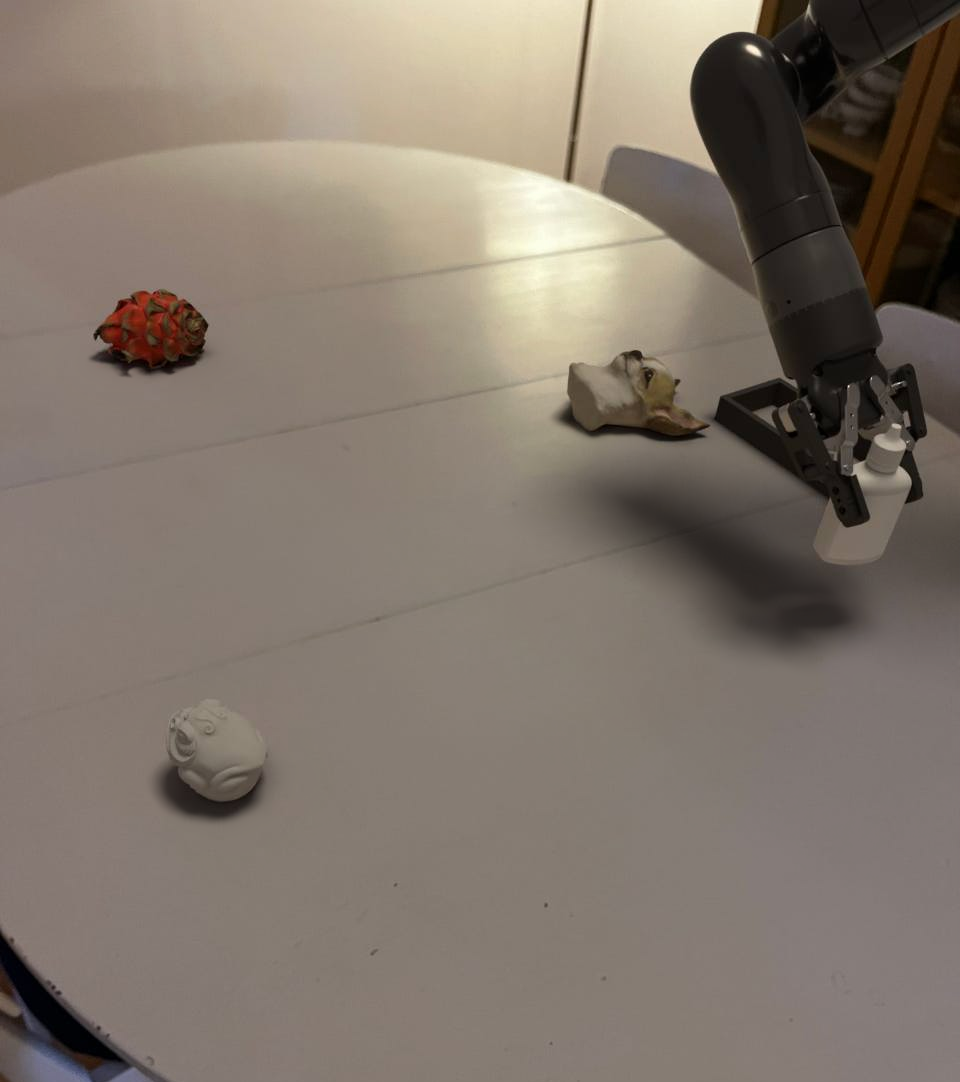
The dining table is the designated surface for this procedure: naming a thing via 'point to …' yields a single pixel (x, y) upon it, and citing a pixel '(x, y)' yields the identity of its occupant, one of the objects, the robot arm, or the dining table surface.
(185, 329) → the dragon fruit
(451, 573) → the dining table surface
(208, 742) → the frog figurine
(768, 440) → the dark grey divided tray
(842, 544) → the eye dropper bottle
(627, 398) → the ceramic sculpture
